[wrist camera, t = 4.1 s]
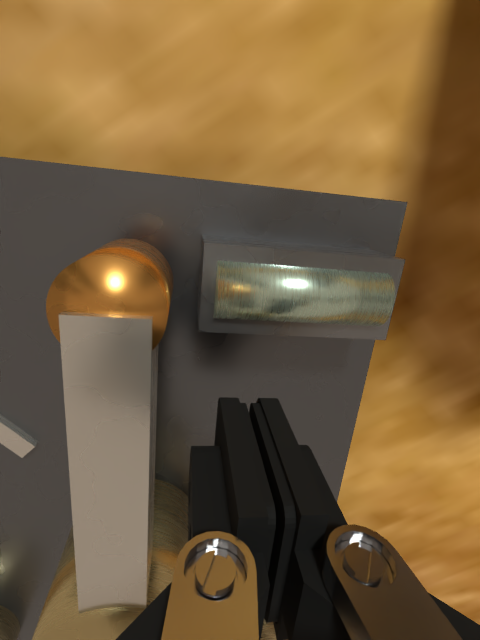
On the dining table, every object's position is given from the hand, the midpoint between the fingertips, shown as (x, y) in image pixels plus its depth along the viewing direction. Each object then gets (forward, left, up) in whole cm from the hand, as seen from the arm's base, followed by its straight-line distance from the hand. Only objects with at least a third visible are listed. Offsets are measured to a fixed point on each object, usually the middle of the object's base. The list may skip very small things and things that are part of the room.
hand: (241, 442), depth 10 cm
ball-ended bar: (+3, +2, -4) cm, 5 cm away
